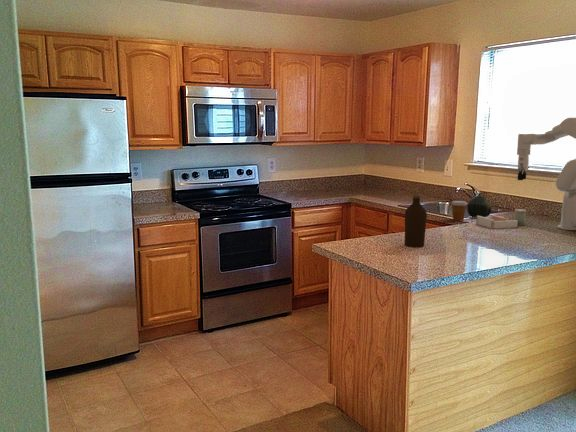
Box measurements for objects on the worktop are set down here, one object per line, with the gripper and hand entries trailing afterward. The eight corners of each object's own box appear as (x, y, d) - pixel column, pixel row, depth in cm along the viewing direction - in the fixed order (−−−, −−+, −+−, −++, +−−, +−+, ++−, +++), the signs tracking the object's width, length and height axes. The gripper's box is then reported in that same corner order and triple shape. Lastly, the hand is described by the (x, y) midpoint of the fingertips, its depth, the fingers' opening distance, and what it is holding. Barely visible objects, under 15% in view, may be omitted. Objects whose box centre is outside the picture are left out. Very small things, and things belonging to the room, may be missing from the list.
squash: (480, 211, 325) (489, 193, 329) (460, 209, 337) (469, 191, 341) (489, 224, 332) (498, 206, 337) (469, 222, 344) (478, 204, 349)
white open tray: (517, 227, 302) (517, 218, 301) (492, 228, 298) (492, 220, 297) (500, 222, 316) (501, 214, 316) (476, 223, 312) (476, 215, 312)
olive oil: (418, 248, 246) (421, 197, 242) (399, 245, 253) (401, 195, 249) (429, 245, 253) (431, 195, 249) (410, 241, 260) (412, 193, 256)
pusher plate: (506, 226, 302) (506, 218, 301) (503, 227, 301) (504, 218, 300) (492, 223, 313) (493, 215, 313) (490, 223, 313) (491, 215, 312)
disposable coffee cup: (449, 220, 323) (450, 201, 321) (451, 218, 332) (452, 200, 330) (464, 221, 319) (465, 202, 317) (467, 219, 327) (468, 201, 325)
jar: (527, 225, 309) (528, 210, 307) (518, 225, 307) (519, 210, 306) (520, 223, 315) (521, 208, 313) (511, 223, 313) (512, 209, 312)
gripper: (527, 153, 312) (525, 180, 314) (532, 152, 326) (530, 179, 328) (514, 152, 316) (512, 180, 318) (519, 152, 330) (517, 178, 333)
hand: (521, 179), depth 323 cm, fingers open, 9 cm apart
